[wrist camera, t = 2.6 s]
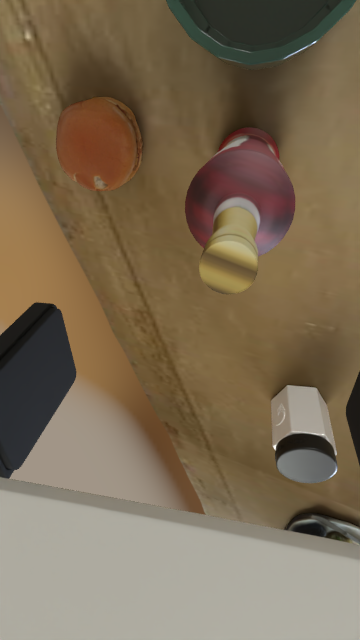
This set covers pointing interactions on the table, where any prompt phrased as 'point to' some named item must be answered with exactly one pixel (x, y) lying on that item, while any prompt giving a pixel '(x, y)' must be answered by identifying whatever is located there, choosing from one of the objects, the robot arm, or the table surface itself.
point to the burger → (99, 143)
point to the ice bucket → (257, 27)
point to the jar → (303, 435)
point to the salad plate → (325, 528)
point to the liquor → (239, 209)
